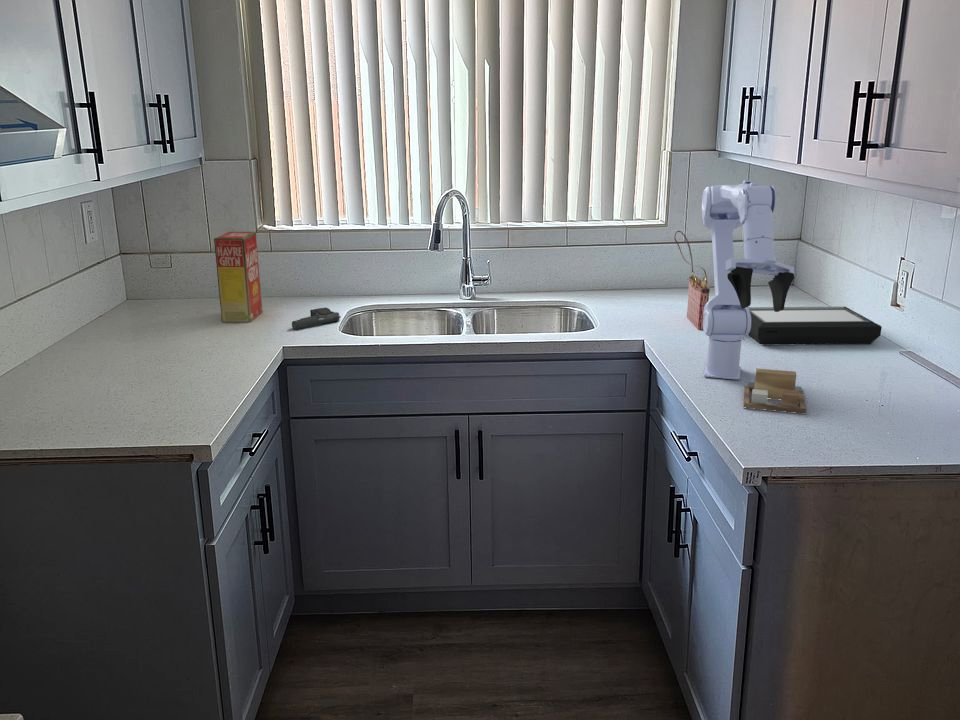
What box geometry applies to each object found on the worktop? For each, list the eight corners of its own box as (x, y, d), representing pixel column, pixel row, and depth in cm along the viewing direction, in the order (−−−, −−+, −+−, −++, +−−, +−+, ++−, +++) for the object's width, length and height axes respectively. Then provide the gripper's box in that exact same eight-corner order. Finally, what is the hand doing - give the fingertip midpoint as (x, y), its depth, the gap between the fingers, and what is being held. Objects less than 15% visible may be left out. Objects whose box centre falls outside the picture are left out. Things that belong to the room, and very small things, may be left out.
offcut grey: (751, 402, 171) (752, 389, 170) (766, 403, 170) (767, 390, 169) (751, 407, 168) (752, 393, 167) (766, 408, 167) (767, 395, 167)
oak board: (753, 394, 176) (756, 368, 174) (792, 398, 173) (795, 371, 172) (753, 398, 173) (756, 371, 172) (793, 401, 171) (796, 375, 169)
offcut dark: (781, 405, 169) (782, 389, 168) (796, 406, 168) (798, 390, 167) (781, 410, 167) (783, 394, 166) (797, 411, 166) (799, 395, 165)
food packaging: (251, 322, 237) (243, 237, 230) (220, 322, 237) (210, 238, 230) (264, 311, 250) (257, 231, 242) (234, 311, 250) (225, 231, 243)
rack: (744, 389, 178) (744, 385, 178) (802, 395, 175) (802, 390, 174) (743, 408, 167) (744, 403, 167) (805, 414, 164) (806, 409, 164)
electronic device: (848, 305, 227) (882, 323, 208) (845, 326, 229) (878, 346, 210) (735, 306, 227) (758, 324, 208) (733, 327, 229) (756, 347, 210)
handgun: (276, 315, 236) (296, 321, 227) (325, 306, 246) (346, 311, 238) (277, 325, 237) (297, 332, 228) (325, 315, 247) (347, 321, 239)
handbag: (692, 312, 245) (698, 230, 237) (709, 331, 225) (717, 241, 217) (668, 312, 245) (673, 230, 237) (683, 331, 225) (690, 241, 217)
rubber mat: (749, 383, 182) (749, 382, 182) (801, 388, 179) (801, 386, 179) (748, 390, 178) (749, 389, 177) (802, 395, 174) (802, 394, 174)
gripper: (739, 231, 155) (742, 299, 152) (802, 240, 159) (807, 307, 156) (718, 243, 161) (721, 309, 158) (779, 252, 165) (783, 316, 162)
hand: (762, 308), depth 158 cm, fingers open, 7 cm apart
